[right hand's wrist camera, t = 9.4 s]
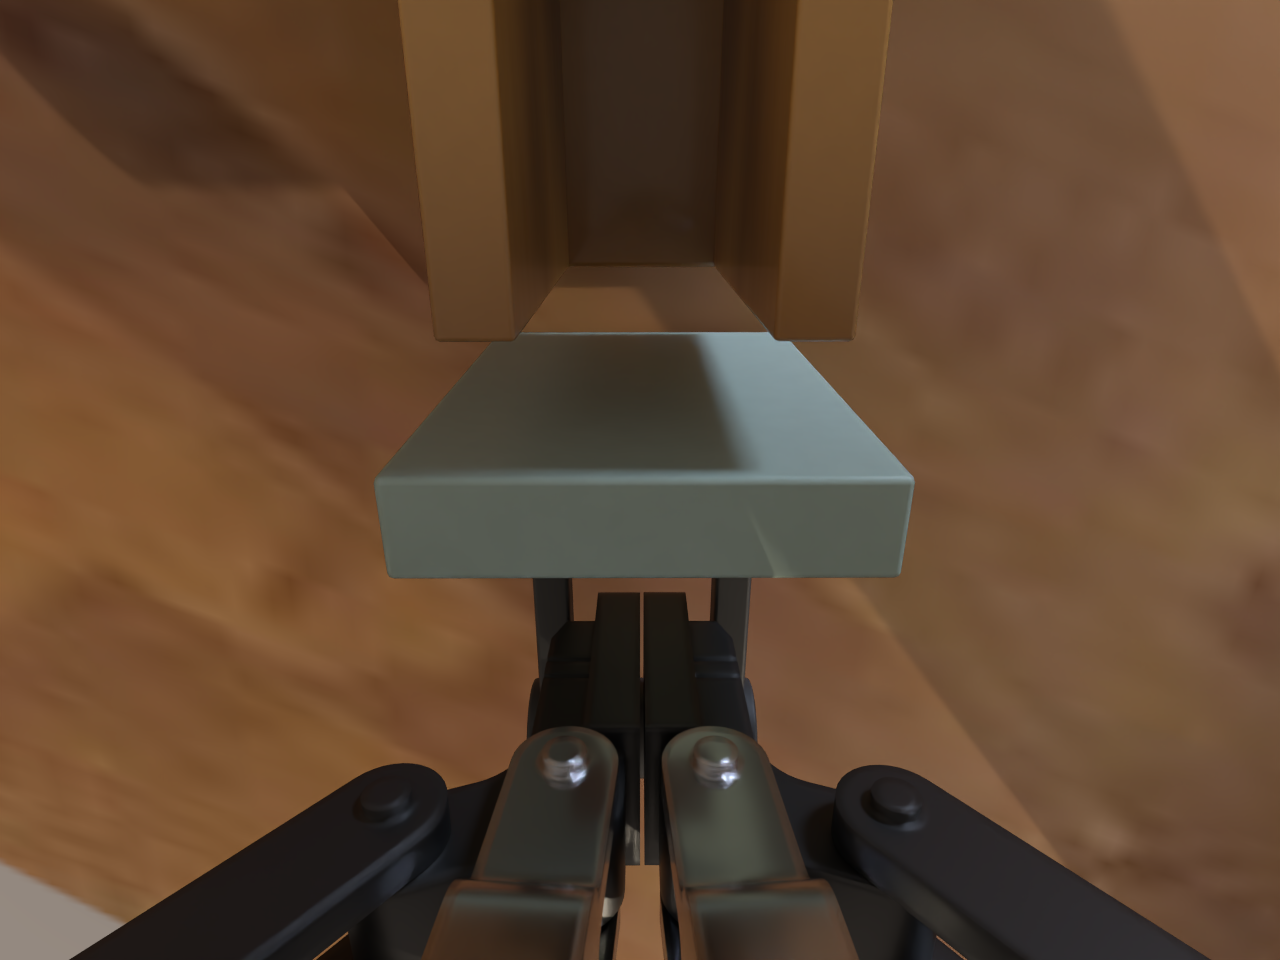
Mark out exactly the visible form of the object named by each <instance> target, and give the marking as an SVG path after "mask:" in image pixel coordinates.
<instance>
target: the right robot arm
mask: <svg viewBox="0 0 1280 960" xmlns="http://www.w3.org/2000/svg"><path fill="white" fill-rule="evenodd" d="M643 697H644V840H645V865H659V870H660V928H661V937H662V946H663V955H664V960H964V959H962V958H961V957H960V956H959V955H957V954H956V953H955V952H954V951H952V950H951V949H950V948H949V947H947V946H946V945H945V944H944V943H942V942H941V941H940V940H939V939H937V938H936V936H937V935H938V936H939V937H940V938H941V939H943V940H944V941H945V942H946V943H948V944H949V945H950V946H951V947H953V948H954V949H955V950H956V951H958V952H959V953H960V954H961V955H963V956H964V957H965V958H966V959H968V960H1210V959H1209V958H1207V957H1206V956H1204V955H1203V954H1201V953H1199V952H1198V951H1196V950H1195V949H1193V948H1191V947H1190V946H1188V945H1187V944H1185V943H1184V942H1182V941H1180V940H1179V939H1177V938H1176V937H1174V936H1173V935H1171V934H1169V933H1168V932H1166V931H1165V930H1163V929H1162V928H1160V927H1158V926H1157V925H1155V924H1154V923H1152V922H1151V921H1149V920H1147V919H1146V918H1144V917H1143V916H1141V915H1139V914H1138V913H1136V912H1135V911H1133V910H1132V909H1130V908H1128V907H1127V906H1125V905H1124V904H1122V903H1121V902H1119V901H1117V900H1116V899H1114V898H1113V897H1111V896H1110V895H1108V894H1106V893H1105V892H1103V891H1102V890H1100V889H1099V888H1097V887H1095V886H1094V885H1092V884H1091V883H1089V882H1087V881H1086V880H1084V879H1083V878H1081V877H1080V876H1078V875H1076V874H1075V873H1073V872H1072V871H1070V870H1069V869H1067V868H1065V867H1064V866H1062V865H1061V864H1059V863H1058V862H1056V861H1054V860H1053V859H1051V858H1050V857H1048V856H1047V855H1045V854H1043V853H1042V852H1040V851H1039V850H1037V849H1036V848H1034V847H1032V846H1031V845H1029V844H1028V843H1026V842H1024V841H1023V840H1021V839H1020V838H1018V837H1017V836H1015V835H1013V834H1012V833H1010V832H1009V831H1007V830H1006V829H1004V828H1002V827H1001V826H999V825H998V824H996V823H995V822H993V821H991V820H990V819H988V818H987V817H985V816H984V815H982V814H980V813H979V812H977V811H976V810H974V809H972V808H971V807H969V806H968V805H966V804H965V803H963V802H961V801H960V800H958V799H957V798H955V797H954V796H952V795H950V794H949V793H947V792H946V791H944V790H943V789H941V788H939V787H938V786H936V785H935V784H933V783H932V782H930V781H928V780H927V779H925V778H923V777H921V776H920V775H918V774H915V773H913V772H911V771H908V770H905V769H902V768H898V767H893V766H886V765H869V766H863V767H859V768H856V769H854V770H852V771H850V772H848V773H847V774H846V775H844V776H843V777H842V778H841V780H840V781H839V783H838V785H837V788H836V789H834V788H830V787H826V786H822V785H818V784H814V783H810V782H806V781H803V780H799V779H797V778H794V777H792V776H790V775H787V774H786V773H784V772H782V771H780V770H779V769H777V768H776V767H774V766H773V765H772V764H771V763H770V762H769V759H768V757H767V755H766V752H765V751H764V750H763V748H762V747H761V746H760V745H759V744H758V743H757V742H756V741H755V740H754V736H753V731H752V727H751V722H750V717H749V713H748V708H747V703H746V699H745V694H744V690H743V685H742V680H741V678H740V671H739V666H738V662H737V657H736V652H735V648H734V643H733V638H732V637H731V636H730V635H729V634H728V633H727V632H726V631H725V630H724V629H723V627H722V626H721V625H720V624H719V623H718V622H717V621H689V619H688V610H687V602H686V594H685V592H644V655H643ZM625 865H640V592H599V593H598V600H597V609H596V618H595V621H567V622H566V623H565V624H564V625H563V626H562V627H561V628H560V629H559V631H558V632H557V633H556V634H555V635H554V636H553V637H552V638H551V642H550V647H549V652H548V657H547V662H546V667H545V672H544V678H543V681H542V686H541V691H540V696H539V701H538V705H537V710H536V715H535V720H534V725H533V730H532V735H531V737H529V738H528V739H527V740H525V741H524V742H523V743H522V744H521V745H520V746H519V747H518V748H517V750H516V751H515V752H514V755H513V757H512V759H511V762H510V765H509V768H508V769H507V770H505V771H503V772H502V773H500V774H498V775H496V776H494V777H491V778H489V779H487V780H483V781H480V782H477V783H473V784H469V785H465V786H461V787H457V788H452V789H448V790H447V787H446V784H445V782H444V780H443V779H442V777H441V776H440V775H439V774H438V773H437V772H435V771H434V770H432V769H430V768H428V767H425V766H422V765H418V764H410V763H400V764H391V765H386V766H382V767H379V768H376V769H373V770H370V771H368V772H366V773H364V774H362V775H360V776H358V777H357V778H355V779H353V780H352V781H350V782H348V783H347V784H345V785H344V786H342V787H341V788H339V789H337V790H336V791H334V792H333V793H331V794H330V795H328V796H326V797H325V798H323V799H322V800H320V801H319V802H317V803H315V804H314V805H312V806H311V807H309V808H308V809H306V810H304V811H303V812H301V813H300V814H298V815H296V816H295V817H293V818H292V819H290V820H289V821H287V822H285V823H284V824H282V825H281V826H279V827H278V828H276V829H274V830H273V831H271V832H270V833H268V834H267V835H265V836H263V837H262V838H260V839H259V840H257V841H256V842H254V843H252V844H251V845H249V846H248V847H246V848H245V849H243V850H241V851H240V852H238V853H237V854H235V855H233V856H232V857H230V858H229V859H227V860H226V861H224V862H222V863H221V864H219V865H218V866H216V867H215V868H213V869H211V870H210V871H208V872H207V873H205V874H204V875H202V876H200V877H199V878H197V879H196V880H194V881H193V882H191V883H189V884H188V885H186V886H185V887H183V888H181V889H180V890H178V891H177V892H175V893H174V894H172V895H170V896H169V897H167V898H166V899H164V900H163V901H161V902H159V903H158V904H156V905H155V906H153V907H152V908H150V909H148V910H147V911H145V912H144V913H142V914H141V915H139V916H137V917H136V918H134V919H133V920H131V921H130V922H128V923H126V924H125V925H123V926H122V927H120V928H118V929H117V930H115V931H114V932H112V933H111V934H109V935H107V936H106V937H104V938H103V939H101V940H100V941H98V942H97V943H95V944H93V945H92V946H90V947H89V948H87V949H85V950H84V951H82V952H81V953H79V954H78V955H76V956H74V957H73V958H71V959H70V960H312V959H314V958H315V957H316V956H317V955H319V954H320V953H321V952H322V951H324V950H325V949H326V948H327V947H329V946H330V945H331V944H332V943H334V942H335V941H336V940H337V939H339V938H340V937H341V936H343V935H344V934H345V933H346V932H348V935H346V936H345V937H344V938H343V939H341V940H340V941H339V942H338V943H336V944H335V945H334V946H333V947H331V948H330V949H329V950H328V951H326V952H325V953H324V954H323V955H321V956H320V957H319V958H318V959H317V960H616V955H617V946H618V937H619V928H620V906H621V904H622V901H623V898H624V892H625Z"/></svg>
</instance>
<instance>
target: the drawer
mask: <svg viewBox="0 0 1280 960" xmlns="http://www.w3.org/2000/svg"><path fill="white" fill-rule="evenodd" d="M397 1H398V10H399V19H400V28H401V37H402V47H403V56H404V65H405V74H406V84H407V93H408V102H409V111H410V120H411V130H412V139H413V148H414V157H415V167H416V176H417V185H418V194H419V204H420V213H421V222H422V231H423V240H424V250H425V259H426V268H427V277H428V287H429V296H430V305H431V314H432V323H433V333H434V337H435V339H436V340H437V341H439V342H491V343H490V344H489V346H488V347H487V348H486V349H485V350H484V351H483V353H482V354H481V355H480V356H479V357H478V358H477V360H476V361H475V362H474V363H473V364H472V365H471V367H470V368H469V369H468V370H467V371H466V372H465V374H464V375H463V376H462V377H461V378H460V379H459V381H458V382H457V383H456V384H455V385H454V386H453V388H452V389H451V390H450V391H449V392H448V393H447V395H446V396H445V397H444V398H443V399H442V400H441V402H440V403H439V404H438V405H437V406H436V407H435V409H434V410H433V411H432V412H431V413H430V414H429V416H428V417H427V418H426V419H425V420H424V421H423V423H422V424H421V425H420V426H419V427H418V428H417V430H416V431H415V432H414V433H413V434H412V435H411V437H410V438H409V439H408V440H407V441H406V442H405V444H404V445H403V446H402V447H401V448H400V449H399V451H398V452H397V453H396V454H395V455H394V456H393V458H392V459H391V460H390V461H389V462H388V463H387V465H386V466H385V467H384V468H383V469H382V470H381V472H380V473H379V474H378V475H377V476H376V477H375V480H374V488H375V495H376V502H377V508H378V515H379V521H380V528H381V534H382V541H383V548H384V554H385V561H386V567H387V573H388V575H389V577H392V578H533V590H534V606H535V621H536V637H537V652H538V668H539V678H537V679H535V680H534V683H533V685H532V689H531V694H530V700H529V708H528V721H527V739H528V738H529V737H531V735H532V730H533V725H534V720H535V715H536V710H537V705H538V701H539V696H540V691H541V686H542V681H543V678H544V672H545V667H546V662H547V657H548V652H549V647H550V642H551V638H552V637H553V636H554V635H555V634H556V633H557V632H558V631H559V629H560V628H561V627H562V626H563V625H564V624H565V623H566V622H567V621H574V615H573V590H572V578H712V585H711V608H710V621H717V622H718V623H719V624H720V625H721V626H722V627H723V629H724V630H725V631H726V632H727V633H728V634H729V635H730V636H731V637H732V638H733V643H734V648H735V652H736V657H737V662H738V666H739V671H740V678H741V680H742V685H743V690H744V694H745V699H746V703H747V708H748V713H749V717H750V722H751V727H752V731H753V736H754V740H755V741H756V742H757V721H756V709H755V701H754V695H753V690H752V686H751V683H750V681H749V679H748V678H745V665H746V650H747V635H748V620H749V606H750V591H751V578H869V577H897V576H899V574H900V573H901V567H902V561H903V555H904V548H905V542H906V536H907V529H908V523H909V516H910V510H911V504H912V497H913V491H914V485H915V481H914V478H913V476H912V475H911V474H910V473H909V472H908V470H907V469H906V468H905V467H904V466H903V465H902V464H901V463H900V462H899V461H898V459H897V458H896V457H895V456H894V455H893V454H892V453H891V452H890V451H889V450H888V448H887V447H886V446H885V445H884V444H883V443H882V442H881V441H880V440H879V438H878V437H877V436H876V435H875V434H874V433H873V432H872V431H871V430H870V429H869V427H868V426H867V425H866V424H865V423H864V422H863V421H862V420H861V419H860V418H859V416H858V415H857V414H856V413H855V412H854V411H853V410H852V409H851V408H850V406H849V405H848V404H847V403H846V402H845V401H844V400H843V399H842V398H841V397H840V395H839V394H838V393H837V392H836V391H835V390H834V389H833V388H832V387H831V386H830V384H829V383H828V382H827V381H826V380H825V379H824V378H823V377H822V376H821V374H820V373H819V372H818V371H817V370H816V369H815V368H814V367H813V366H812V365H811V363H810V362H809V361H808V360H807V359H806V358H805V357H804V356H803V355H802V354H801V352H800V351H799V350H798V349H797V348H796V347H795V346H794V345H793V344H792V342H791V341H851V340H853V339H854V337H855V333H856V324H857V315H858V306H859V297H860V289H861V280H862V271H863V262H864V253H865V244H866V236H867V227H868V218H869V209H870V200H871V192H872V183H873V174H874V165H875V156H876V147H877V139H878V130H879V121H880V112H881V103H882V94H883V86H884V77H885V68H886V59H887V50H888V41H889V33H890V24H891V15H892V6H893V0H397ZM568 267H715V268H716V269H717V270H718V271H719V272H720V274H721V275H722V276H723V277H724V279H725V280H726V281H727V282H728V283H729V285H730V286H731V287H732V288H733V290H734V291H735V292H736V293H737V294H738V296H739V297H740V298H741V299H742V300H743V302H744V303H745V304H746V305H747V307H748V308H749V309H750V310H751V311H752V313H753V314H754V315H755V316H756V318H757V319H758V320H759V321H760V322H761V324H762V325H763V326H764V327H765V329H766V330H767V331H768V332H521V331H522V330H523V328H524V327H525V325H526V324H527V323H528V321H529V320H530V319H531V317H532V316H533V314H534V313H535V312H536V310H537V309H538V308H539V306H540V305H541V303H542V302H543V301H544V299H545V298H546V297H547V295H548V294H549V293H550V291H551V290H552V288H553V287H554V286H555V284H556V283H557V282H558V280H559V279H560V277H561V276H562V275H563V273H564V272H565V271H566V269H567V268H568ZM640 778H644V697H643V678H640Z"/></svg>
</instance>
